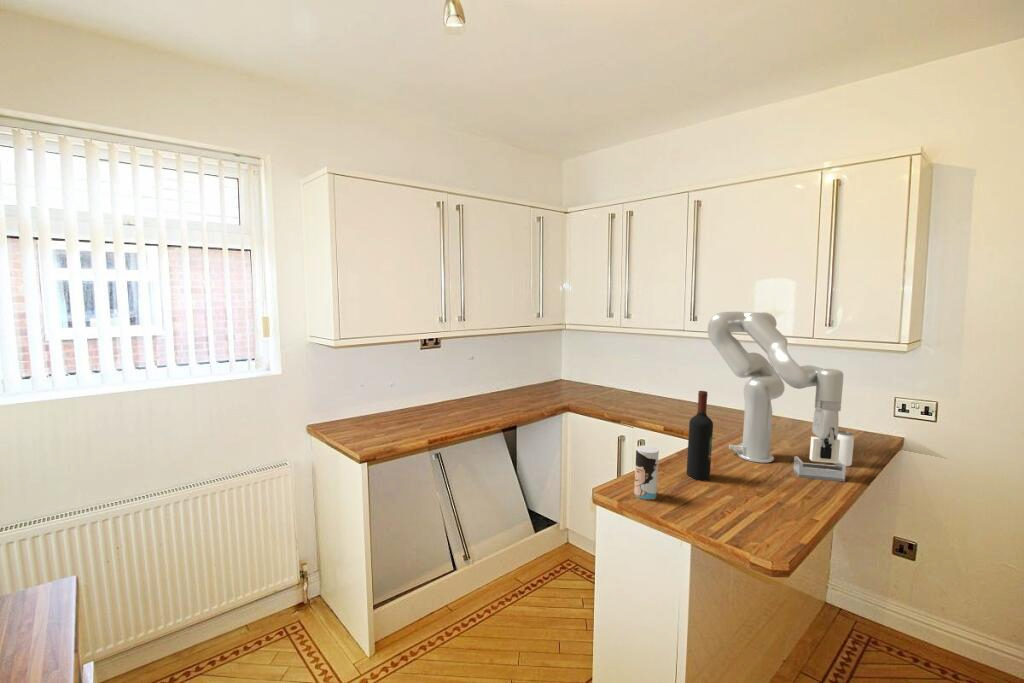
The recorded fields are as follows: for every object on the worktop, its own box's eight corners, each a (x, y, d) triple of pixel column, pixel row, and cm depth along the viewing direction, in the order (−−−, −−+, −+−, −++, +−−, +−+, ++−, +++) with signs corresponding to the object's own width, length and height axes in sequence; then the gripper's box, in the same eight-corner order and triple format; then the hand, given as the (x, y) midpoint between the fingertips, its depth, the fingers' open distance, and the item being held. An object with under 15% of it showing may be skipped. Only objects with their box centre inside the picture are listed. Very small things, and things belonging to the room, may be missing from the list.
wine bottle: (683, 472, 169) (688, 389, 166) (705, 472, 169) (710, 389, 166) (690, 480, 162) (695, 393, 158) (713, 481, 162) (718, 394, 158)
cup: (640, 489, 154) (642, 444, 153) (659, 495, 150) (662, 448, 148) (630, 495, 149) (632, 449, 148) (650, 502, 145) (652, 454, 143)
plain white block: (812, 461, 166) (813, 438, 165) (809, 458, 168) (811, 436, 168) (838, 463, 164) (840, 440, 163) (835, 460, 166) (837, 438, 166)
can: (831, 459, 184) (834, 429, 183) (852, 463, 180) (855, 432, 179) (829, 464, 179) (832, 433, 178) (850, 468, 175) (853, 436, 174)
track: (798, 477, 166) (799, 462, 165) (793, 470, 172) (794, 456, 171) (844, 481, 163) (846, 466, 162) (837, 475, 168) (838, 460, 168)
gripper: (807, 399, 173) (803, 448, 175) (824, 409, 157) (820, 463, 159) (830, 400, 171) (826, 450, 173) (850, 411, 155) (845, 466, 157)
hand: (823, 456), depth 166 cm, fingers closed on plain white block, 2 cm apart
